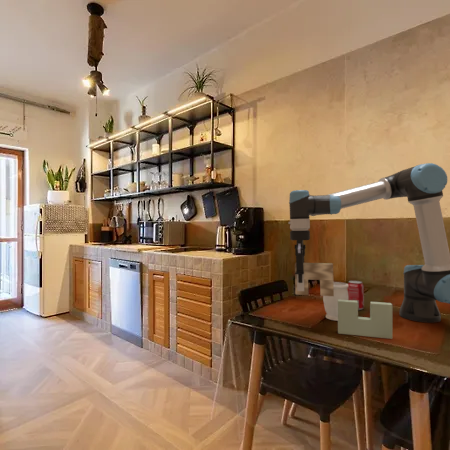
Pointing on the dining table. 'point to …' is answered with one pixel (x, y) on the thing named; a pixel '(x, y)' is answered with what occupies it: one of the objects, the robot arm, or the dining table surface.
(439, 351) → the dining table surface
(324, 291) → the wooden arch block
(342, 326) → the notched green slab
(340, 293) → the jar
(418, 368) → the dining table surface
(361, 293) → the soda can
